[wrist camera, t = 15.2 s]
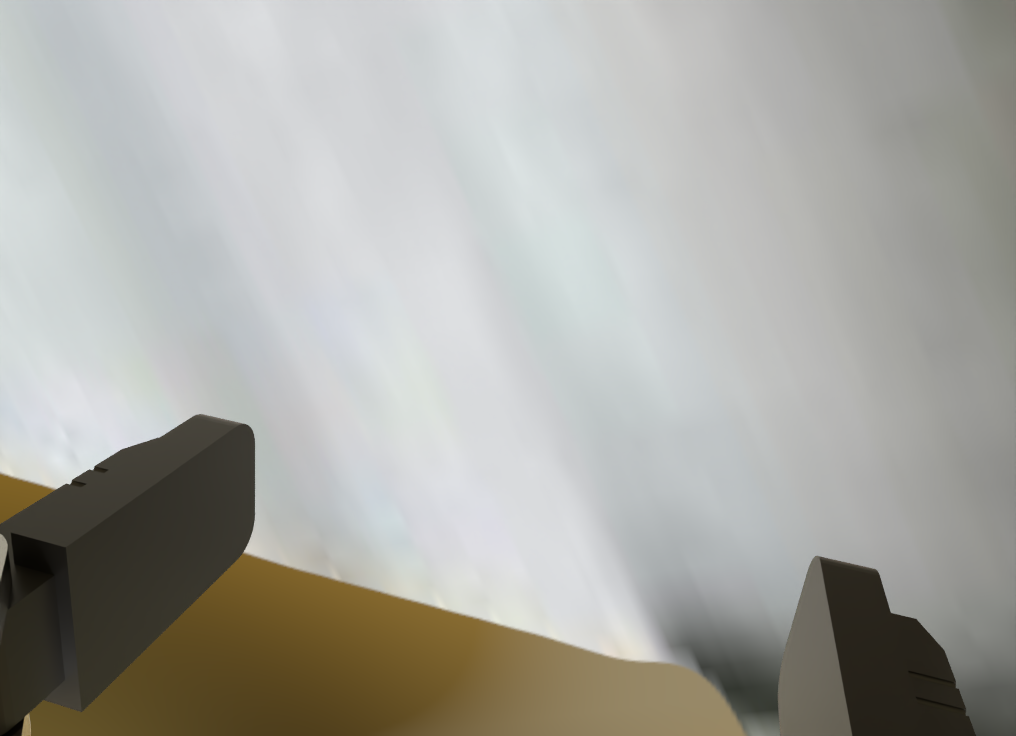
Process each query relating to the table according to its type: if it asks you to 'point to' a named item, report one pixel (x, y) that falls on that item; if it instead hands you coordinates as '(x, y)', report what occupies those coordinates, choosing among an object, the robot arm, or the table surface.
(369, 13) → the table surface
